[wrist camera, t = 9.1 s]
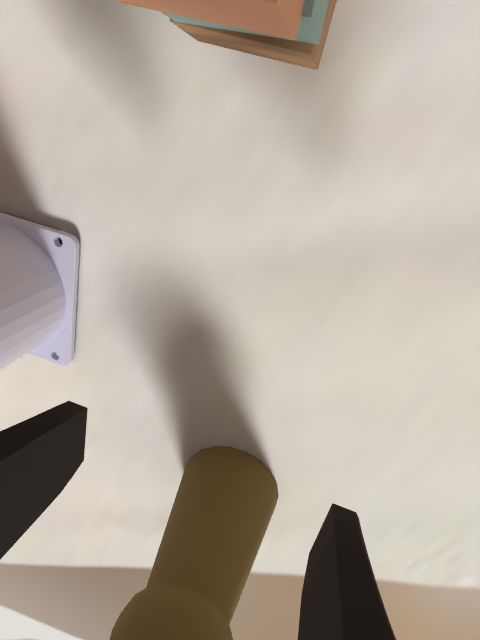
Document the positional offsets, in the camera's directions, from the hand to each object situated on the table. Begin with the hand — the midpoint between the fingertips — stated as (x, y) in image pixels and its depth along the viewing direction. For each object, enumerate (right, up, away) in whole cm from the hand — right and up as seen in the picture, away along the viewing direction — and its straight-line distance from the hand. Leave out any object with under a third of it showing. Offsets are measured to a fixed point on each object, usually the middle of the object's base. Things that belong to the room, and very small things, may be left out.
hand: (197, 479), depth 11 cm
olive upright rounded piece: (+1, -6, +14) cm, 15 cm away
